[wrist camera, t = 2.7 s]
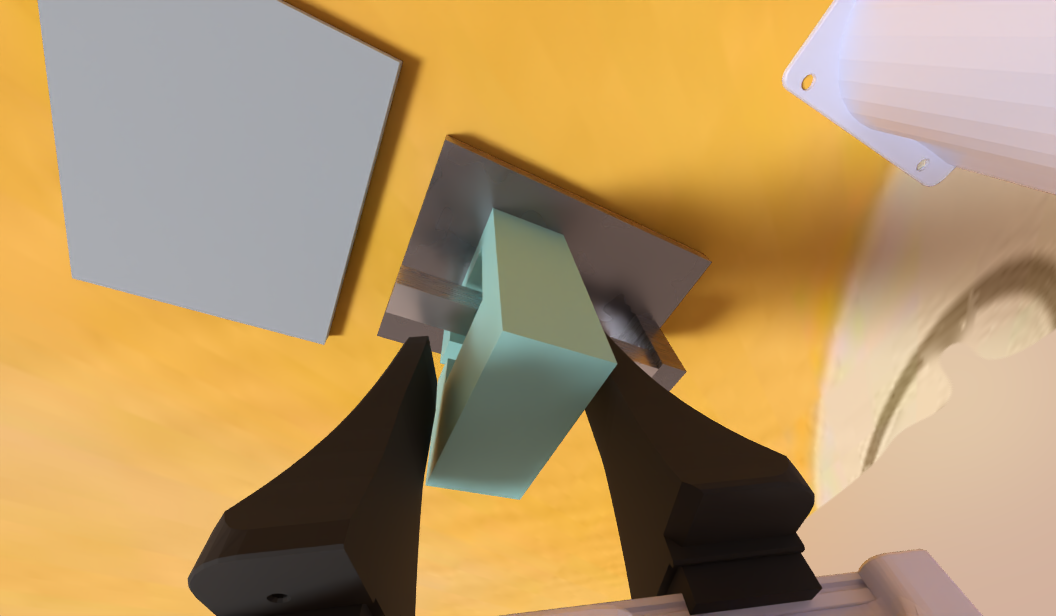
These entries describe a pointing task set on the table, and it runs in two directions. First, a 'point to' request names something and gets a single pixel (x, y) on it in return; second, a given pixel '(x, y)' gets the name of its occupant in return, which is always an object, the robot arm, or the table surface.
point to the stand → (590, 230)
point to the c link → (516, 363)
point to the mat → (214, 152)
